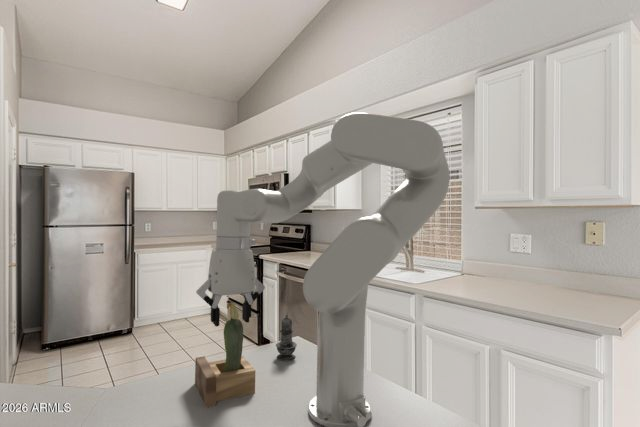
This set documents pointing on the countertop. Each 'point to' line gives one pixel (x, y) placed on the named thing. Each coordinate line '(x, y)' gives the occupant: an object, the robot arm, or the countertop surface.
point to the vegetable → (233, 340)
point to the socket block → (233, 380)
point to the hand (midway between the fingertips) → (231, 322)
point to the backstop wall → (205, 381)
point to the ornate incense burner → (286, 341)
